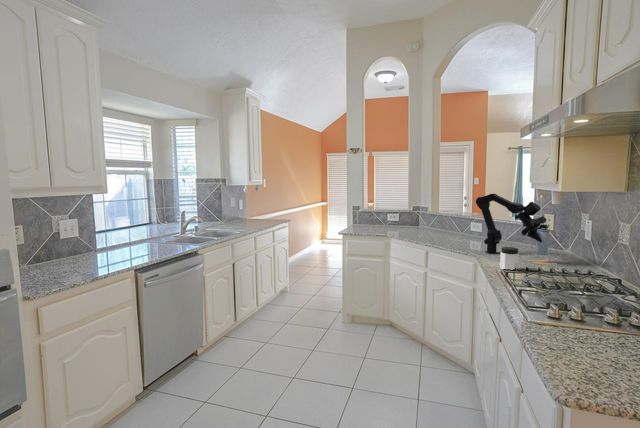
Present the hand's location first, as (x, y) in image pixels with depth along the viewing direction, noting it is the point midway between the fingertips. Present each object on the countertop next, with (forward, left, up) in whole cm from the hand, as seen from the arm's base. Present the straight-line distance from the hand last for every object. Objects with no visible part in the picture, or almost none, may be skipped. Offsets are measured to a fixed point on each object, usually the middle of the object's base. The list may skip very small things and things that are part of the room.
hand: (544, 241), depth 205 cm
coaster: (-1, -1, -13) cm, 13 cm away
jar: (+11, -27, -13) cm, 32 cm away
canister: (-1, -1, -8) cm, 8 cm away
